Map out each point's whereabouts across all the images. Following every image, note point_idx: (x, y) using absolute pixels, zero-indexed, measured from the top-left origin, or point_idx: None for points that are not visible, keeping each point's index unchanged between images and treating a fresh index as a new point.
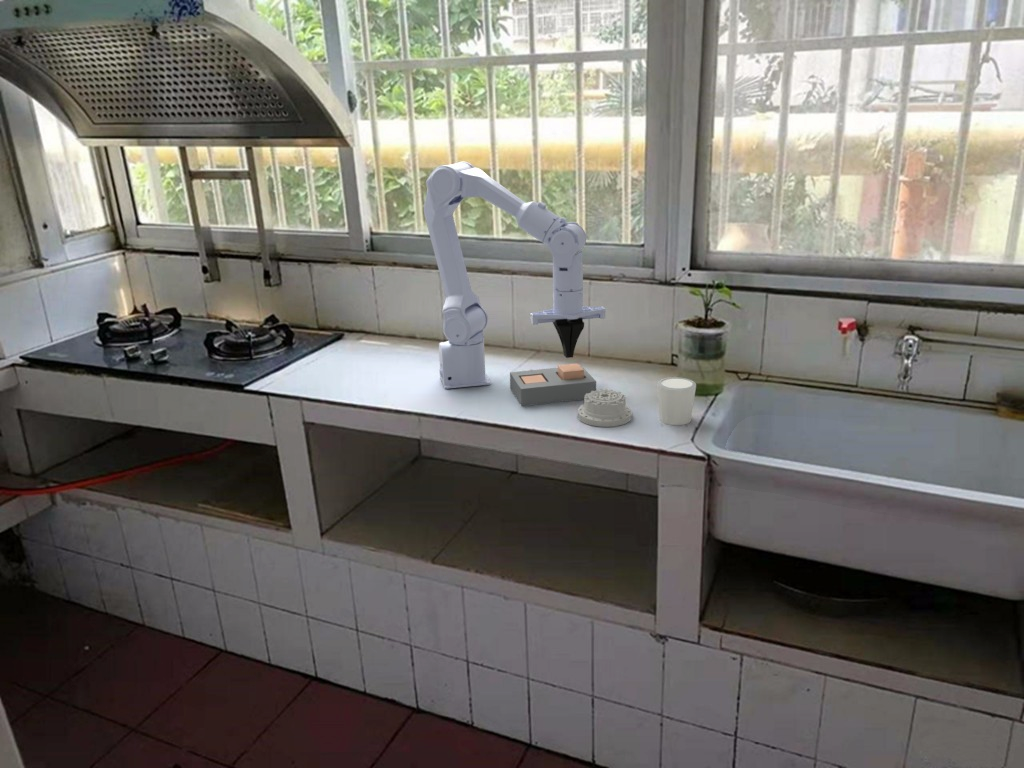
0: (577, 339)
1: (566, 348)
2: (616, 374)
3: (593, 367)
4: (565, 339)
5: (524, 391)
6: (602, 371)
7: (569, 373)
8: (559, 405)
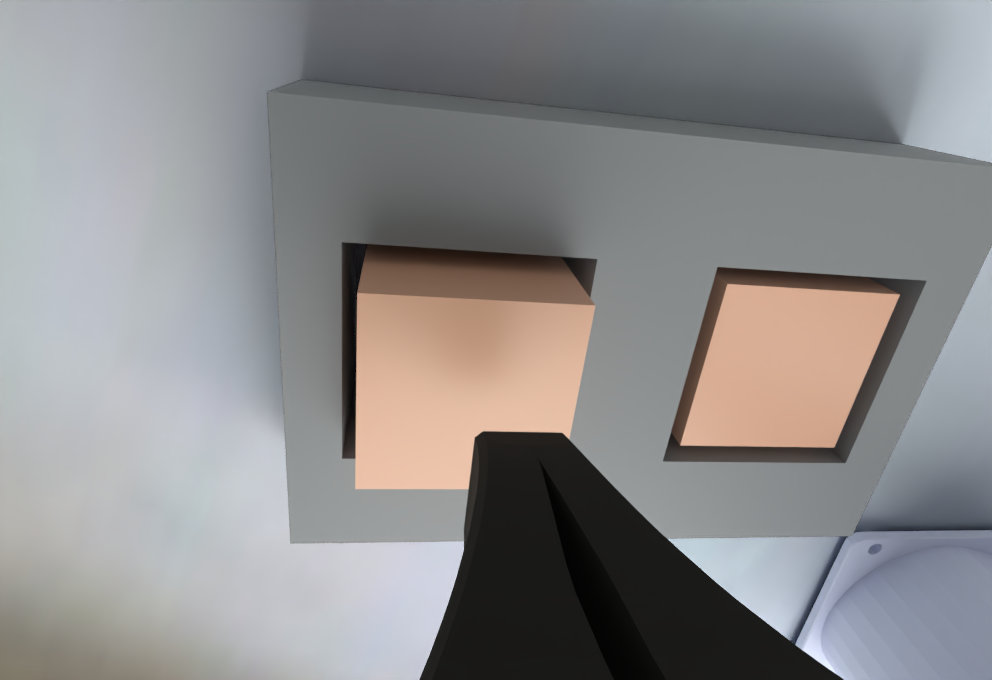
0: (448, 626)
1: (625, 506)
2: (5, 508)
3: (157, 642)
4: (736, 635)
5: (975, 162)
6: (107, 576)
7: (524, 291)
8: (657, 39)
